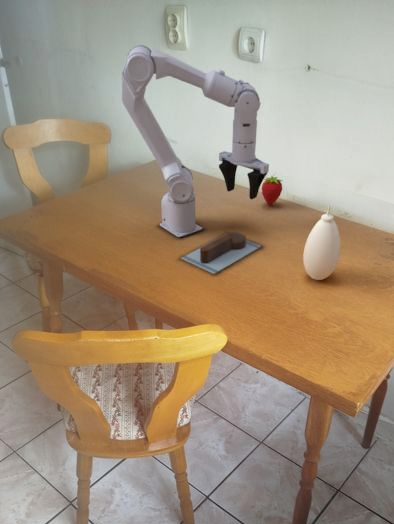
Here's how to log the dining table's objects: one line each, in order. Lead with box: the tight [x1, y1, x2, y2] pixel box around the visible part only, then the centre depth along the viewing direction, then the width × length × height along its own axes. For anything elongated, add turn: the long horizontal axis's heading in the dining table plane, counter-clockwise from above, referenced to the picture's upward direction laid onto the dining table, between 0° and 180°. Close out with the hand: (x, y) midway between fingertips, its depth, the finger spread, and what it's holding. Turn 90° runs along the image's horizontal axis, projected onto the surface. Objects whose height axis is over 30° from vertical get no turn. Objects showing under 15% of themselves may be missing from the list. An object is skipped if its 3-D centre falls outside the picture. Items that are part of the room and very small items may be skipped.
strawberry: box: [261, 172, 283, 207], centre depth 145 cm, size 6×8×10 cm
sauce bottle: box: [302, 203, 341, 281], centre depth 111 cm, size 8×8×18 cm
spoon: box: [199, 231, 247, 264], centre depth 125 cm, size 15×6×3 cm, turn 137°
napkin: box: [180, 232, 262, 275], centre depth 126 cm, size 11×18×1 cm, turn 137°
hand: (241, 194), depth 131 cm, fingers open, 7 cm apart
